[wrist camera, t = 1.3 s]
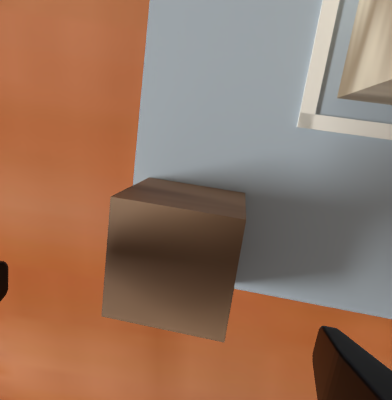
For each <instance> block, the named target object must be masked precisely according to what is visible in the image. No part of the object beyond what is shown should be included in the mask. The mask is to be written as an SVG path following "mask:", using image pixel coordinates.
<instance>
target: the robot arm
mask: <svg viewBox="0 0 392 400" xmlns="http://www.w3.org/2000/svg"><path fill="white" fill-rule="evenodd" d="M7 291H8V265H7V263H6V262H4V261H0V301H1V300H2V299H3V298H4V296H5V295H6V293H7ZM313 369H314V376H315V384H316V391H317V399H318V400H392V371H391V370H390V369H389V368H387V367H386V366H385V365H383V364H382V363H381V362H380V361H378V360H377V359H376V358H374V357H373V356H372V355H371V354H369V353H368V352H367V351H365V350H364V349H363V348H362V347H360V346H359V345H358V344H356V343H355V342H354V341H353V340H351V339H350V338H349V337H347V336H346V335H345V334H344V333H342V332H341V331H340V330H338V329H336V328H332V327H327V326H321V327H320V329H319V331H318V335H317V339H316V343H315V347H314V351H313Z"/></svg>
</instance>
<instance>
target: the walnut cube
mask: <svg viewBox="0 0 392 400" xmlns="http://www.w3.org/2000/svg"><path fill="white" fill-rule="evenodd" d="M245 224H246V201H245V193H243V192H237V191H231V190H224V189H218V188H212V187H206V186H199V185H193V184H187V183H181V182H175V181H168V180H162V179H156V178H150V177H149V178H147V179H145V180H143V181H141V182H139V183H137V184H135V185H133V186H131V187H129V188H127V189H125V190H123V191H121V192H119V193H117V194H115V195H113V196H111V200H110V213H109V226H108V239H107V252H106V265H105V278H104V291H103V304H102V316H103V317H107V318H112V319H117V320H121V321H126V322H131V323H136V324H140V325H145V326H150V327H154V328H159V329H164V330H168V331H173V332H178V333H182V334H187V335H192V336H197V337H201V338H206V339H211V340H215V341H220V342H224V341H225V335H226V330H227V324H228V318H229V313H230V307H231V302H232V296H233V291H234V285H235V280H236V274H237V268H238V263H239V257H240V252H241V246H242V241H243V235H244V230H245Z"/></svg>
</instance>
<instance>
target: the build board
mask: <svg viewBox="0 0 392 400" xmlns="http://www.w3.org/2000/svg"><path fill="white" fill-rule="evenodd" d="M358 3H359V0H150V4H149V15H148V26H147V37H146V48H145V59H144V70H143V80H142V91H141V102H140V113H139V124H138V135H137V146H136V157H135V167H134V178H133V185H135V184H137V183H139V182H141V181H143V180H145V179H147V178H149V177H150V178H156V179H162V180H168V181H175V182H181V183H187V184H193V185H199V186H206V187H212V188H218V189H224V190H231V191H237V192H243V193H245V201H246V224H245V230H244V235H243V241H242V246H241V252H240V257H239V263H238V268H237V274H236V280H235V285H234V289H239V290H244V291H249V292H254V293H260V294H265V295H270V296H275V297H280V298H285V299H291V300H296V301H301V302H306V303H311V304H316V305H321V306H327V307H332V308H337V309H342V310H347V311H352V312H358V313H363V314H368V315H373V316H378V317H383V318H388V319H392V105H387V104H379V103H371V102H363V101H355V100H347V99H339V98H337V95H338V91H339V86H340V82H341V78H342V73H343V69H344V64H345V60H346V56H347V51H348V47H349V42H350V38H351V34H352V29H353V25H354V20H355V16H356V12H357V7H358Z"/></svg>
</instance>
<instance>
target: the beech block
mask: <svg viewBox="0 0 392 400" xmlns="http://www.w3.org/2000/svg"><path fill="white" fill-rule="evenodd" d="M337 98H339V99H347V100H355V101H363V102H371V103H379V104H387V105H392V0H359V3H358V7H357V12H356V16H355V20H354V25H353V29H352V34H351V38H350V42H349V47H348V51H347V56H346V60H345V64H344V69H343V73H342V78H341V82H340V86H339V91H338V95H337Z"/></svg>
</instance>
